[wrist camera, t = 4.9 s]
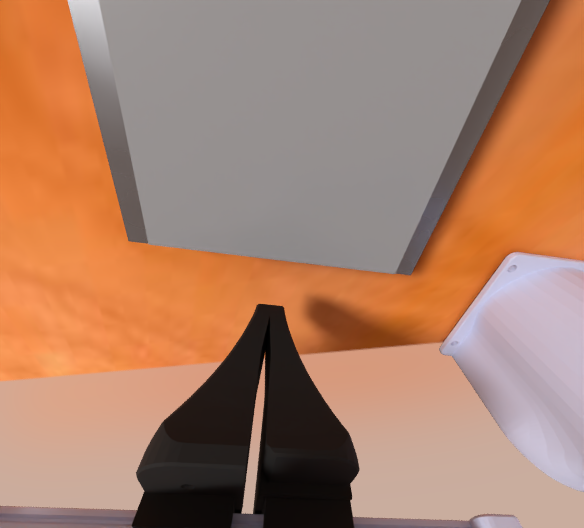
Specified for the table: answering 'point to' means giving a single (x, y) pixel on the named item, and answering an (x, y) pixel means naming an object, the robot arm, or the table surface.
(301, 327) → the table surface
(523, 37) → the roller bed
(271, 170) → the slab
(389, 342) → the table surface
